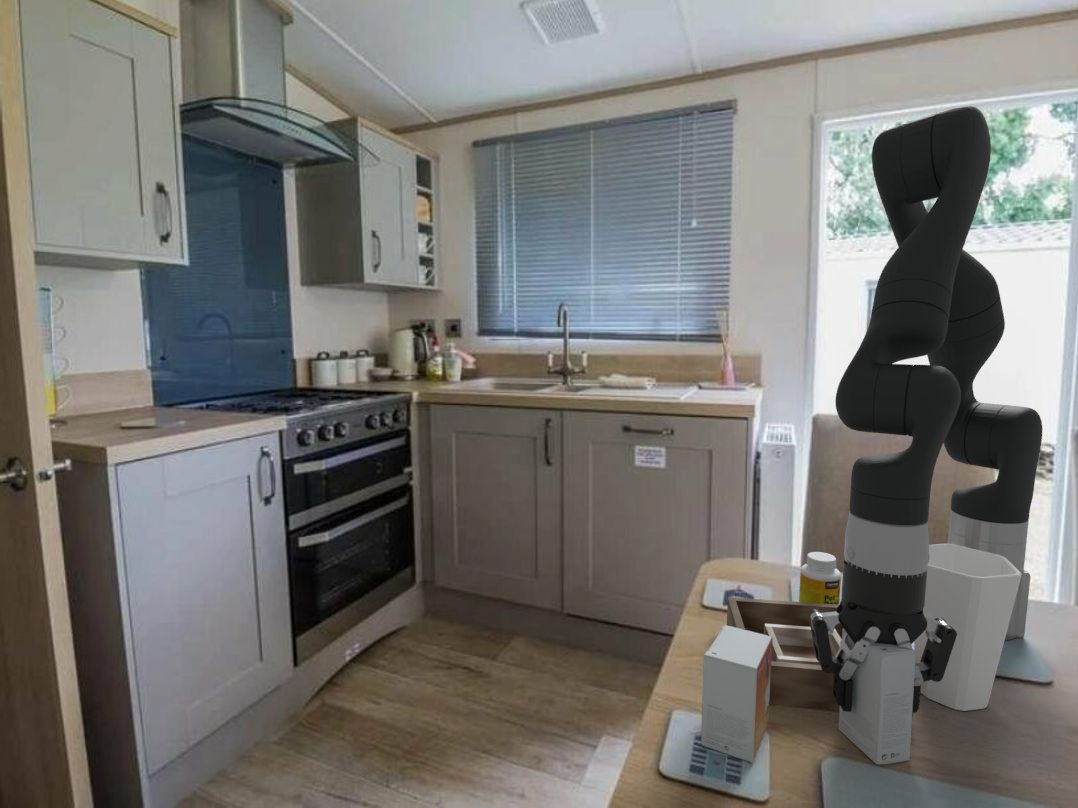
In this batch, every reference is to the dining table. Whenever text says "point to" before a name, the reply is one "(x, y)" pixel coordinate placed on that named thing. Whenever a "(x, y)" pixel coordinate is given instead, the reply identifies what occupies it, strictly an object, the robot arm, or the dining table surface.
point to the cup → (968, 620)
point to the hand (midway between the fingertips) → (874, 709)
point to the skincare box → (881, 703)
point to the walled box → (790, 649)
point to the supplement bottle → (820, 579)
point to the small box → (736, 692)
